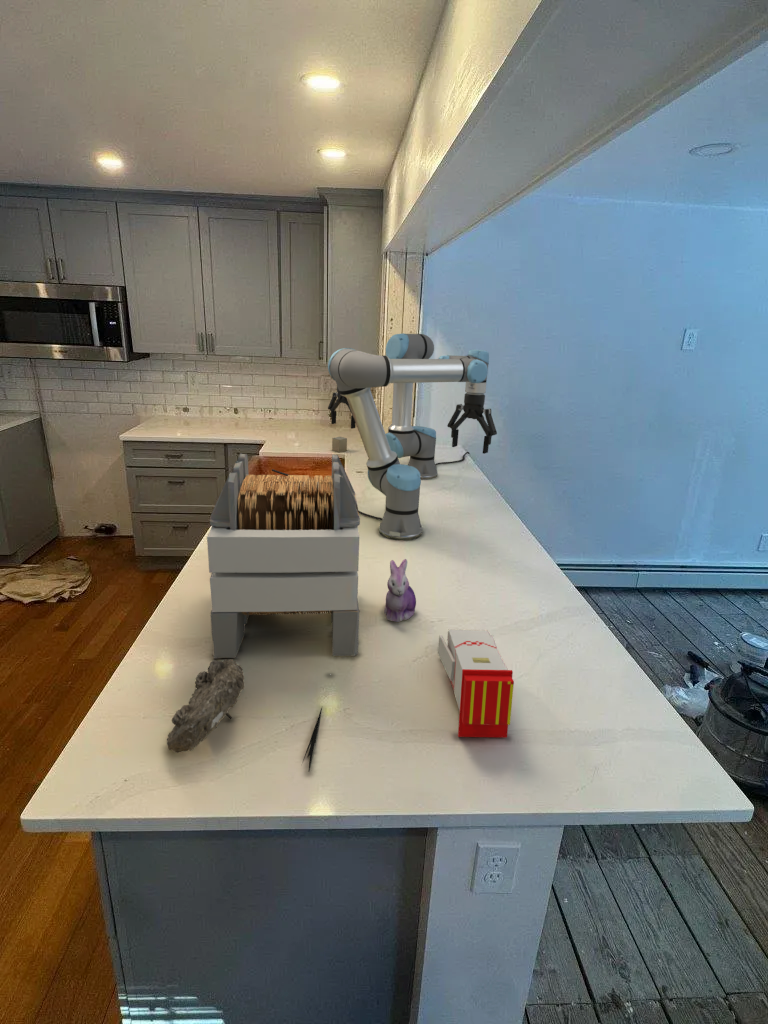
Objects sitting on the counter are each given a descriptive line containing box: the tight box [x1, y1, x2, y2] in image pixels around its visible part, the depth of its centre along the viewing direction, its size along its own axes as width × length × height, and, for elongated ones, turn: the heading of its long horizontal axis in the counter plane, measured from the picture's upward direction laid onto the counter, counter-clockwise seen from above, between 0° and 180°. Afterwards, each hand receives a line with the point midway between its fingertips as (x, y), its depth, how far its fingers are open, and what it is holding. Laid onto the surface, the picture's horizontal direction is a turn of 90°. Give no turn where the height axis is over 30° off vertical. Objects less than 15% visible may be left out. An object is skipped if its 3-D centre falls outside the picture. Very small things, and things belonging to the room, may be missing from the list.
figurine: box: [384, 558, 417, 623], centre depth 145 cm, size 9×10×15 cm
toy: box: [437, 628, 515, 738], centre depth 117 cm, size 12×13×30 cm
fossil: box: [166, 658, 245, 754], centre depth 106 cm, size 22×10×15 cm
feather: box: [301, 673, 332, 771], centre depth 108 cm, size 2×28×2 cm
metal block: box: [331, 436, 348, 453], centre depth 310 cm, size 6×6×7 cm
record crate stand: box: [206, 452, 361, 660], centre depth 135 cm, size 34×33×41 cm
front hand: (469, 449), depth 216 cm, fingers open, 13 cm apart
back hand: (343, 426), depth 295 cm, fingers open, 13 cm apart
